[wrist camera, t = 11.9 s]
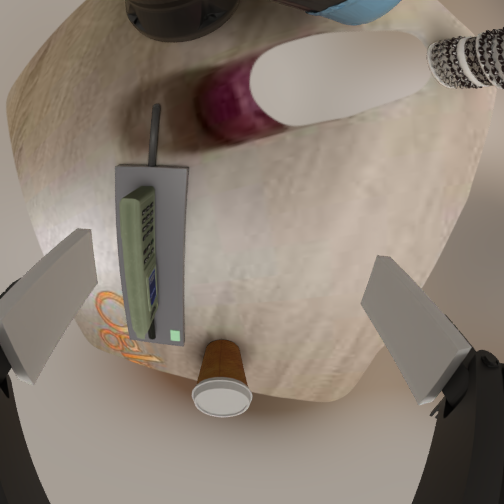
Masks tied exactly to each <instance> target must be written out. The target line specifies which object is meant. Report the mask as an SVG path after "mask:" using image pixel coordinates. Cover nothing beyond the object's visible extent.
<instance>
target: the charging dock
mask: <svg viewBox="0 0 504 504" xmlns="http://www.w3.org/2000/svg"><path fill="white" fill-rule="evenodd" d="M159 115H160V105H159V104H154V105H153V109H152V119H151V131H150V144H149V160H148V165H118V166H115V202H116V228H117V244H118V256H119V267H120V276H121V284H122V292H123V300H124V306H125V313H126V319H127V325H128V331H129V336H130V339H131V340H138V341H145V342H152V343H159V344H167V345H176V346H184V342H185V333H184V252H185V223H186V203H187V186H188V172H189V167H172V166H156V150H157V137H158V125H159ZM140 186H153V187H154V189H155V254H156V274H157V292H158V296H157V297H158V309H157V311H156V313H155V316H154V318H153V319H154V325H155V333H156V338H155V339H153V340H151V339H149V337H148V332H147V333H146V334H145V339H141V338H137V335H136V332H135V331H134V330H133V327H132V321H131V315H130V309H129V302H128V295H127V287H126V278H125V269H124V259H123V247H122V238H121V231H120V209H119V203H120V201H121V199H122V198H123V197H125V196H126V195H128V194H129V193H131V192H132V191H134V190H136V189H137V188H139V187H140Z"/></svg>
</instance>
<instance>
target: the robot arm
mask: <svg viewBox="0 0 504 504" xmlns="http://www.w3.org/2000/svg"><path fill="white" fill-rule="evenodd" d="M269 1H273V2H276V3H280V4H284V5H287V6H290V7H293V8H297V9H300V10H303V11H305V12H306V13H307V14H310V15H315V16H318V15H319V16H322V17H325V18H328V19H331V20H334V21H337V22H339V23H342V24H346V25H361V24H366V23H369V22H372V21H374V20H376V19H378V18H380V17H382V16H383V15H385V14H386V13H387V12H389V11H390V10H391V9H393V8H394V7H395V6H396V5H397V4H398V3H399V2H400V1H401V0H269ZM125 2H126V12H127V15H128V18H129V20H130V21H131V23H132V24H133V25H134V26H135V27H136V28H137V29H138V30H139V31H140V32H141V33H142V34H144V35H145V36H147V37H149V38H151V39H154V40H158V41H163V42H183V41H189V40H193V39H196V38H199V37H202V36H205V35H207V34H209V33H211V32H213V31H214V30H216V29H217V28H219V27H220V26H222V25H223V24H224V23H225V22H226V21H227V20H228V19H229V18H230V17H231V16H232V14H233V13H234V11H235V10H236V8H237V6H238V3H239V0H125ZM97 283H98V281H97V274H96V267H95V260H94V252H93V243H92V233H91V229H79V228H77V229H76V230H75V231H74V232H72V233H71V234H70V235H69V236H67V237H66V238H65V239H64V240H63V241H61V242H60V243H59V244H58V245H57V246H56V247H54V248H53V249H52V250H51V251H50V252H49V253H48V254H46V255H45V256H44V257H43V258H42V259H41V260H40V261H39V262H38V263H36V265H34V266H33V267H32V268H31V269H30V270H29V271H28V272H27V273H26V274H25V275H24V276H23V277H22V278H20V279H18V280H16V281H15V282H13V283H12V284H11V285H10V286H9V287H8V288H7V289H6V291H5V292H3V293H2V294H1V295H0V504H50V502H49V500H48V498H47V496H46V494H45V491H44V489H43V487H42V484H41V482H40V480H39V477H38V475H37V472H36V470H35V467H34V465H33V462H32V459H31V457H30V453H29V451H28V448H27V444H26V441H25V438H24V435H23V431H22V428H21V424H20V420H19V416H18V412H17V408H16V403H15V398H14V393H13V388H12V382H11V379H10V377H9V375H8V372H9V370H10V369H11V367H12V369H13V371H14V372H15V374H16V376H17V378H18V379H19V380H22V381H24V382H26V383H29V384H31V385H34V384H35V382H36V380H37V379H38V377H39V375H40V373H41V371H42V369H43V368H44V366H45V364H46V362H47V361H48V359H49V357H50V355H51V354H52V352H53V350H54V349H55V347H56V345H57V344H58V342H59V340H60V339H61V337H62V335H63V334H64V332H65V330H66V329H67V327H68V326H69V324H70V323H71V321H72V320H73V318H74V317H75V315H76V314H77V312H78V311H79V309H80V308H81V306H82V305H83V303H84V302H85V300H86V299H87V297H88V296H89V295H90V293H91V292H92V290H93V289H94V287H95V286H96V285H97ZM361 305H362V307H363V308H364V310H365V312H366V313H367V315H368V317H369V318H370V320H371V322H372V323H373V325H374V326H375V328H376V330H377V331H378V333H379V335H380V337H381V338H382V340H383V342H384V343H385V345H386V347H387V348H388V350H389V352H390V354H391V355H392V357H393V359H394V361H395V362H396V364H397V366H398V368H399V369H400V371H401V373H402V375H403V377H404V379H405V380H406V382H407V384H408V386H409V388H410V390H411V392H412V394H413V395H414V397H415V399H416V401H417V403H418V405H422V404H425V403H429V402H433V401H434V399H435V398H436V397H437V396H438V394H439V393H440V392H441V391H442V392H443V394H444V395H445V396H444V398H443V399H442V400H441V401H440V402H439V404H438V405H437V406H436V407H435V408H434V409H433V411H432V412H431V414H430V416H433V415H434V413H435V412H436V411H438V414H437V416H436V417H435V418H437V422H436V426H435V431H434V435H433V439H432V443H431V447H430V451H429V454H428V458H427V462H426V465H425V468H424V471H423V474H422V477H421V480H420V483H419V486H418V489H417V491H416V494H415V497H414V499H413V502H412V504H504V364H503V363H499V360H498V359H497V358H496V357H495V356H494V355H493V354H492V353H489V352H488V351H485V350H479V351H477V352H476V351H475V350H474V348H473V347H472V346H471V344H470V343H469V342H468V341H467V339H466V338H465V337H464V336H463V334H462V333H461V332H460V331H458V329H457V327H456V326H455V325H454V324H453V323H452V322H451V320H450V319H449V318H448V317H447V316H446V315H445V314H444V313H443V312H442V311H441V310H440V309H439V308H438V307H437V305H436V304H435V303H434V302H433V301H432V300H431V299H430V298H429V297H428V296H427V294H426V293H425V292H424V291H423V290H422V289H421V288H420V287H419V286H418V285H417V284H416V283H415V282H414V281H413V280H412V279H411V277H410V276H409V275H408V274H407V273H406V272H405V271H404V270H403V269H402V268H401V267H400V266H399V265H398V264H397V263H396V262H395V261H394V260H393V259H392V258H391V257H388V256H379V255H377V257H376V261H375V264H374V267H373V270H372V273H371V276H370V279H369V282H368V284H367V287H366V290H365V293H364V296H363V298H362V301H361Z"/></svg>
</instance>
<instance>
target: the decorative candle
mask: <svg viewBox="0 0 504 504" xmlns="http://www.w3.org/2000/svg"><path fill="white" fill-rule="evenodd" d="M427 62H428V65H429V69H430V71H431V72H432V74H433V76H434V78H435V79H436V80H437V81H438V82H439V83H440V84H441V85H443V86H445V87H446V88H455V89H457V87H458V86H459V87H460V88H461V89H463V86H465V87H466V88H478V87H479V88H482V87H489V86H495V87H496V88H500V89H504V27H503V30H502V29H498V30H496V29H493V30H492V31H489V30H487V31H486V32H483V33H480V34H478V36H477V37H471V36H470V37H461V36H458V38H452V39H445V40H444V41H443V40H440V41H438V42H435V43H433V44H430V46H429V48H428V50H427Z"/></svg>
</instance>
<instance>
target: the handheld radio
mask: <svg viewBox="0 0 504 504" xmlns="http://www.w3.org/2000/svg"><path fill="white" fill-rule="evenodd" d="M119 209H120V231H121V238H122V247H123V259H124V269H125V278H126V287H127V295H128V302H129V309H130V315H131V321H132V327H133V330H134V331H135V332H136V335H137V338H141V339H145V334H146V333H147V332H148V337H149V339H151V340H153V339H155V338H156V333H155V325H154V319H153V318H154V316H155V313H156V311H157V309H158V297H157V296H158V292H157V274H156V254H155V189H154V187H153V186H140V187H139V188H137V189H136V190H134V191H132V192H131V193H129V194H128V195H126V196H125V197H123V198H122V199H121V201H120V203H119Z"/></svg>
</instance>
